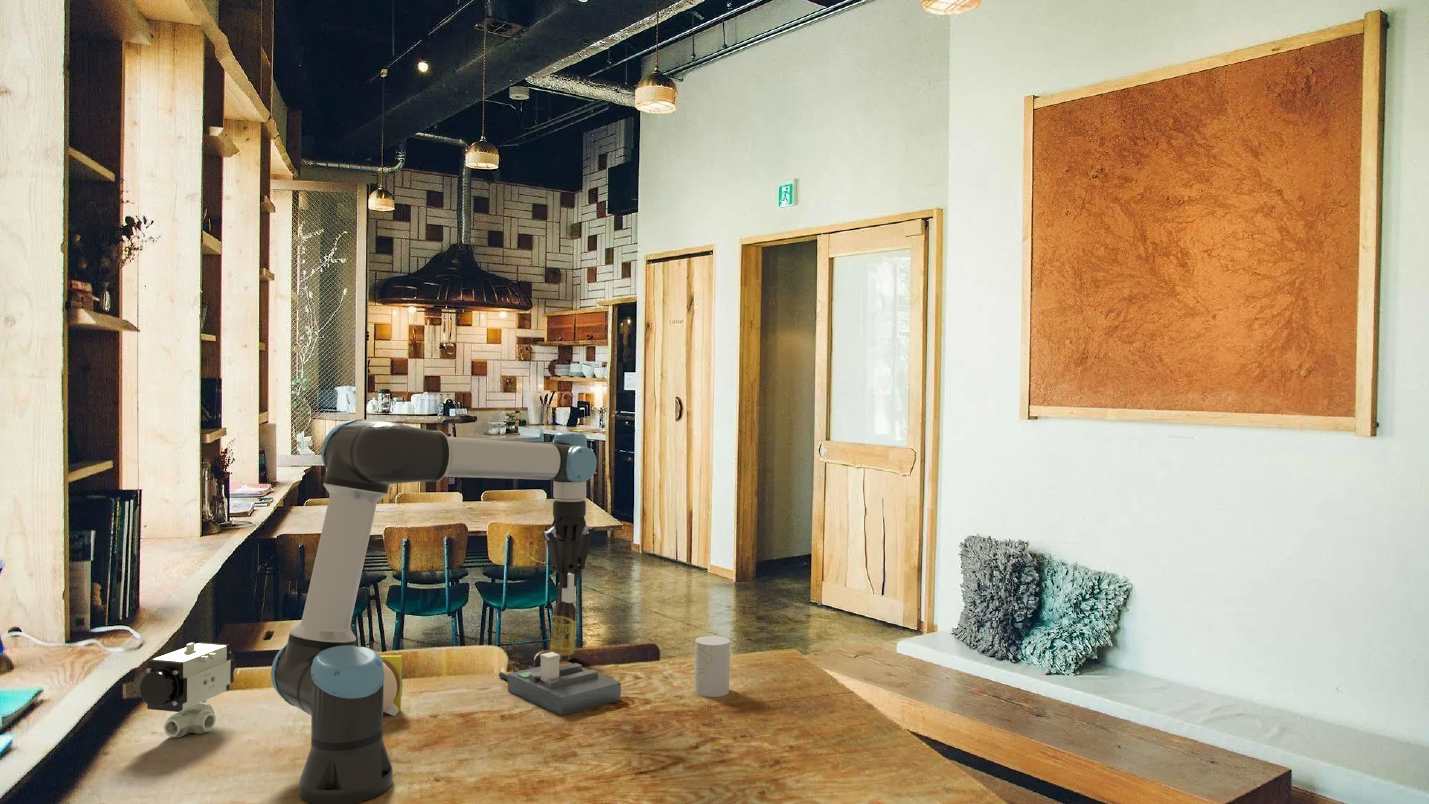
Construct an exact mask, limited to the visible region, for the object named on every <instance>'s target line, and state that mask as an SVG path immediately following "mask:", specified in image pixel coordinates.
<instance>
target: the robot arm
mask: <svg viewBox="0 0 1429 804" xmlns="http://www.w3.org/2000/svg"><path fill="white" fill-rule="evenodd" d="M553 437H554V438H553V441H550V442H549V441H548V442H547V441H546V442H545V441H543V442H542V441H541V442H540V441H537V442H535V441H534V442H528V441H514V440H513V441H512V440H501V439H498V440H497V439H484V438H469V437H457V436H456V437H454V436H447V434H445V433H444V432H443V431H441V430H434V429H433V430H431V429H426V428H425V429H424V428H419V427H413V426H410V425H405V424H402V423H397V422H394V421H380V420H373V419H372V420H371V419H363V418H359V419H353V420H347V421H344V422H341V423H339V424H337V425H336V426H334V427H333V428H332V429H331V430H330V431H328V434H326V436H325V438H324V440H323V442H322V445H321V451H320V455H321V460H322V463H323V465H324V467H325V469H326V472H325V475H324V480H323V487H324V488H325V489H326V491H327V493H328V495H329V497H328V502H327V506H326V511H325V515H324V520H323V525H322V529H321V533H320V538H319V540H318V547H317V550H316V554H315V555H316V556H315V558H314V559H315V560H314V563H313V569H312V571H311V572H312V574H311V577H310V582H309V586H308V591H307V595H306V600H305V604H304V607H303V608H304V609H303V613H302V617H301V621H300V622H299V624H298V625H296V626H294V628H292V629H291V630H290V631H289V633H288V639H287V643H286V644H285V645H284V646H283V647H282V648H280V650H279V651H278V652H277V653H276V655H275V656H274V659H273V661H272V665H271V669H270V671H271V672H270V676H271V677H270V678H271V683H272V686H273V688H274V689H275V691H276V692H277V694H278V695H279V696H280V697H281V698H282V699H283V700H284V702H286V703H287V704H289V705H291V706H293V707H296V708H297V709H300V710H301V711H302V712H304V713H306V714H307V715H310V717H311V718H310V719H311V723H310V724H311V726H310V727H311V729H310V733H311V738H310V739H311V740H310V750H309V753H308V755H307V758H306V760H305V764H304V767H303V770H302V772H301V774H300V775H301V776H300V778H299V790H298V791H299V792H298V793H299V794H298V795H299V796H300V798H301V800H303V801H304V802H306V803H308V804H357V803H358V804H359V803H362V802H366V801H368V800H371V799H373V798H376V797H378V796H380V795H382V794H384V793H385V792H386V791H388V790H389V788H390V787H392V785H393V766H392V763H391V759H390V756H389V754H388V750H387V748H386V746H385V742H384V739H383V737H384V736H383V732H384V731H383V727H384V712H383V689H384V678H385V676H384V670H383V661H382V658H381V656H382V655H380V654H379V653H378V652H377V651H375V650H374V649H372V648H369V647H367V646H366V647H365V646H357V645H356V641H357V637H356V636H355V634H354V632H353V631H352V629H351V625H352V621H353V620H352V619H353V615H354V610H355V604H356V602H357V601H356V600H357V596H358V591H359V587H360V582H361V577H362V574H363V570H364V569H363V568H364V563H365V559H366V554H367V550H368V547H369V541H370V536H371V531H372V527H373V522H374V518H375V513H376V511H377V510H376V509H377V504H378V503H379V501H380V500H382V499H383V498H385V497H387V496H388V491H389V488H390V485H395V484H404V483H406V484H407V483H421V482H422V483H423V482H425V483H427V482H430V483H432V482H433V483H434V482H437V483H438V482H439V481H442V480H443V478H444V477H447V478H450V477H451V478H478V479H479V478H483V479H518V480H519V479H520V480H521V479H522V480H544V481H545V480H550V481H553V489H552V490H553V491H552V492H553V494H552V495H553V496H552V497H553V498H554V499H555V500H554V501H553V502H552V517H553V521H552V524H551V527H550V529H548V530H544V531H543V532H542V536H543V537H544V539H545V541H546V545H547V551H548V554H549V561H550V562H549V563H550V566H551V571H552V572H556V573H558V574H559V580H558V581H559V582H558V583H559V586H560V588H562V601H563V602H566V603H572V602H573V603H574V602H575V597H574V596H575V587H576V586H577V584H578V583H577V582H578V581H577V575H578V574H580V572H581V570H582V571H583V570H585V568H586V562H587V556H588V553H589V547H590V543H591V538H592V536H593V535H594V532H595V528H593V527H590V526H588V525H587V522H586V519H585V516H586V514H587V513H586V512H587V501H586V500H585V499H586V498H587V481H589V480H590V479H591V478H592V477H593V476H594V474H595V472H596V469H597V464H598V463H597V461H598V460H597V457H596V455H595V452H594V451H593V450H592V449H591V448H589V447H588V440H587V436H586V435H585V434H584V433H582V432H557V433H555V434H554V436H553ZM556 537H557V539H556Z"/></svg>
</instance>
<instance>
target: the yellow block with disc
mask: <svg viewBox="0 0 1429 804" xmlns="http://www.w3.org/2000/svg"><path fill="white" fill-rule="evenodd" d="M380 656H381V658H382V661H383V670H384V676H385V678H384V689H383V713H386V714H389V715H390V716H393V717H394V716H396V715H397V714H398V713H400V712H401V711H402V696H403V667H402V665H403V663H402V662H403V660H402V659H403V658H402V657H403V655H400V654H399V655H380Z"/></svg>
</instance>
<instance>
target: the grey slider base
mask: <svg viewBox="0 0 1429 804" xmlns="http://www.w3.org/2000/svg"><path fill="white" fill-rule="evenodd" d="M498 677H499V678H501V679H503V680H506V681H507V691H508V692H509V693H511V694H513V695H515V696H517V697H520V698H522V699H524V700H526V701H528V702H530V703H533V704H535V705H537V706H539V707H541V708H543V709H545V710H547V711H549V712H552V713H554V714H556V715H558V716H560V717H565V716H568V715H571V714H574V713H579V712H582V711H586V710H589V709H593V708H596V707H599V706H601V707H602V706H605V705H607V704H611V703H615V702H618V701H621V699H622V698H621V695H622V694H621V693H622V692H621V691H622V690H621V689H622V682H621V681H618V680H616V679H614V678H611V677H608V676H606V675H603V674H601V673H599V671H597V670H595V669H588V668H585V667H583V665H582V664H579V663H578V662H577V663H576V662H575V663H573V662H570V661H569V660H568V661H559V677H558V678H554V679H550V680H545V682H544V681H542V680H540V678H541V665H540V666H536V667H534V666H531V665H528V666H527V667H526V669H524V670H519V669H517V668H515V669H513V672H510V673H508V674H506V673H505V672H502V671H501V672H499V674H498Z"/></svg>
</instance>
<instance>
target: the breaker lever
mask: <svg viewBox="0 0 1429 804" xmlns="http://www.w3.org/2000/svg"><path fill="white" fill-rule="evenodd" d="M539 658H540V666H541V678H540V680H542V681H544V682H545V680H550V679H554V678H558V677H559V662H560V661H559V659H560V655H559V654H556V653H554V652H550V651H549V652H545V653H541V654H539Z"/></svg>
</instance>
